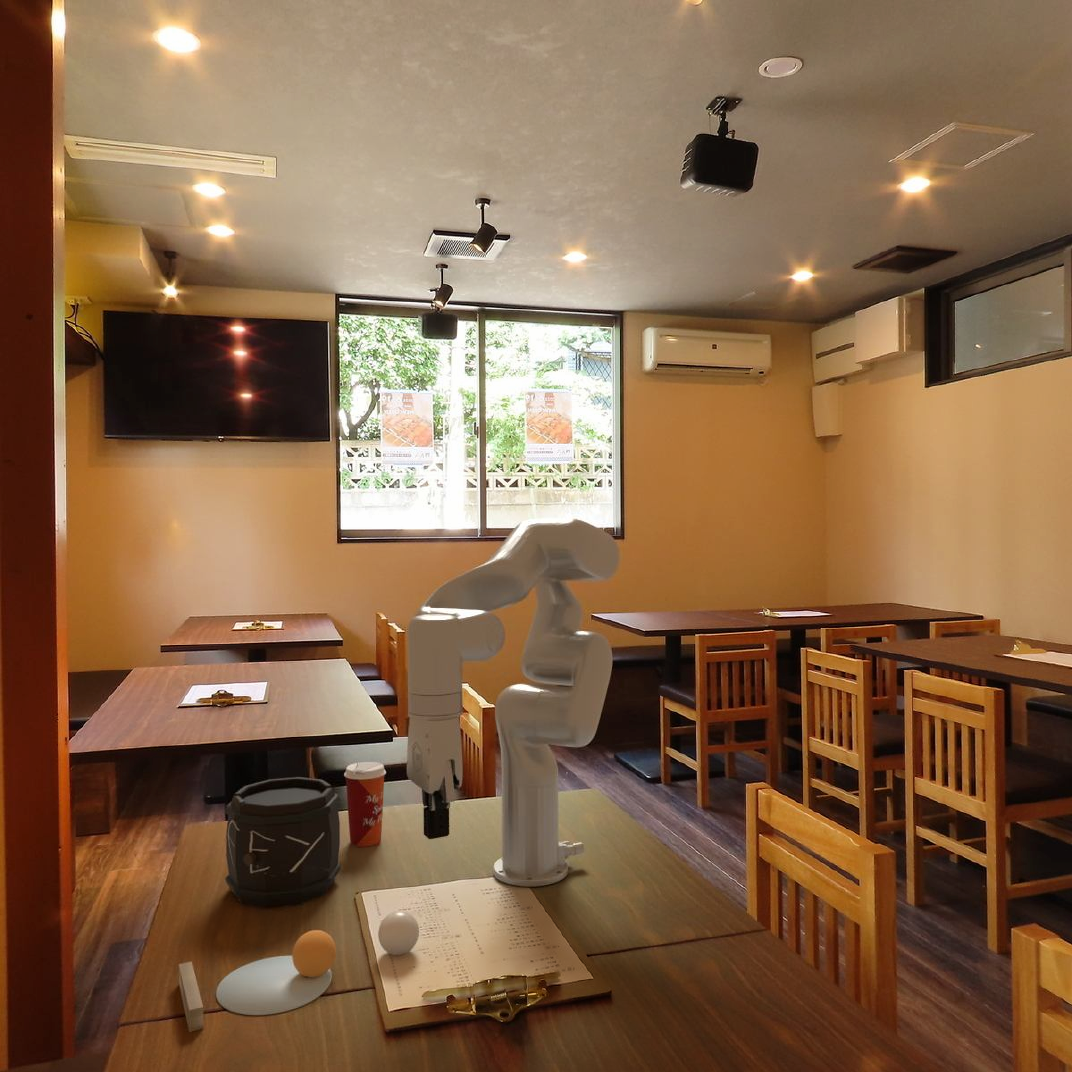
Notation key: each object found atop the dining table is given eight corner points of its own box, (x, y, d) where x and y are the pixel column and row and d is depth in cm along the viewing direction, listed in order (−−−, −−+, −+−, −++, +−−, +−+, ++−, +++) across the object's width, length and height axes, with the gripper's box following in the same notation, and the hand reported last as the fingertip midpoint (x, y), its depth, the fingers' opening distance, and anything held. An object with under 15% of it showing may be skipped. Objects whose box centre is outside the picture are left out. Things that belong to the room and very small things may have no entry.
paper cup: (377, 850, 154) (376, 773, 154) (337, 847, 156) (337, 771, 156) (393, 835, 162) (392, 761, 162) (355, 832, 164) (354, 759, 164)
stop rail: (191, 981, 109) (191, 961, 109) (203, 1028, 99) (203, 1006, 99) (179, 984, 109) (178, 964, 109) (189, 1032, 98) (189, 1010, 98)
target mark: (317, 948, 118) (317, 946, 118) (344, 996, 106) (344, 994, 106) (209, 973, 111) (209, 971, 111) (225, 1027, 99) (225, 1025, 99)
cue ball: (379, 903, 118) (369, 944, 117) (390, 918, 113) (380, 961, 112) (416, 906, 120) (406, 946, 120) (428, 920, 115) (419, 963, 115)
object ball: (314, 914, 114) (279, 945, 111) (324, 931, 109) (288, 964, 107) (337, 943, 115) (304, 974, 113) (349, 960, 110) (314, 994, 108)
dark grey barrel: (198, 903, 133) (197, 802, 133) (271, 861, 150) (270, 771, 150) (295, 920, 127) (294, 814, 127) (360, 874, 144) (359, 781, 144)
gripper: (392, 697, 124) (393, 824, 124) (429, 716, 110) (430, 858, 110) (440, 692, 127) (441, 816, 127) (482, 710, 114) (483, 848, 114)
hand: (436, 835), depth 119 cm, fingers closed
